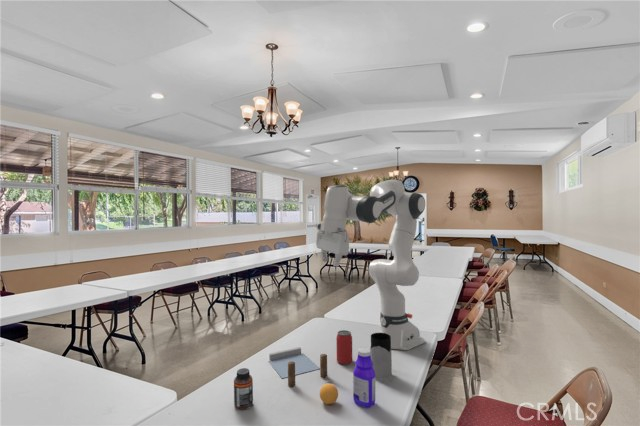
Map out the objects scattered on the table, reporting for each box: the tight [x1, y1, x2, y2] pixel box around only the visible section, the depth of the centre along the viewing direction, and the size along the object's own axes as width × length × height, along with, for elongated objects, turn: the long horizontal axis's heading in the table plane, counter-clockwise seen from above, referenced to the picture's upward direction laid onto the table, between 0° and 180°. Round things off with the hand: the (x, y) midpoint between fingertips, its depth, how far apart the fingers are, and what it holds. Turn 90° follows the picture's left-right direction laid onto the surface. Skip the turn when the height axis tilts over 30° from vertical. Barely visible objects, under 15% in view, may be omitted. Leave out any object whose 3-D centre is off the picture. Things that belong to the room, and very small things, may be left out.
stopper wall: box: [268, 346, 302, 361], centre depth 143 cm, size 14×2×2 cm, turn 117°
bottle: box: [352, 347, 376, 409], centre depth 108 cm, size 7×6×17 cm
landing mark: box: [267, 352, 320, 380], centre depth 135 cm, size 16×16×1 cm
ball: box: [319, 382, 339, 405], centre depth 108 cm, size 6×6×6 cm
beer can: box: [335, 329, 353, 365], centre depth 138 cm, size 7×7×12 cm
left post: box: [287, 361, 296, 388], centre depth 119 cm, size 3×3×8 cm
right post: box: [319, 353, 328, 379], centre depth 125 cm, size 3×3×8 cm
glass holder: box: [369, 332, 394, 383], centre depth 128 cm, size 9×14×15 cm, turn 158°
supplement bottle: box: [233, 367, 254, 411], centre depth 107 cm, size 6×6×11 cm
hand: (329, 263), depth 124 cm, fingers open, 8 cm apart
